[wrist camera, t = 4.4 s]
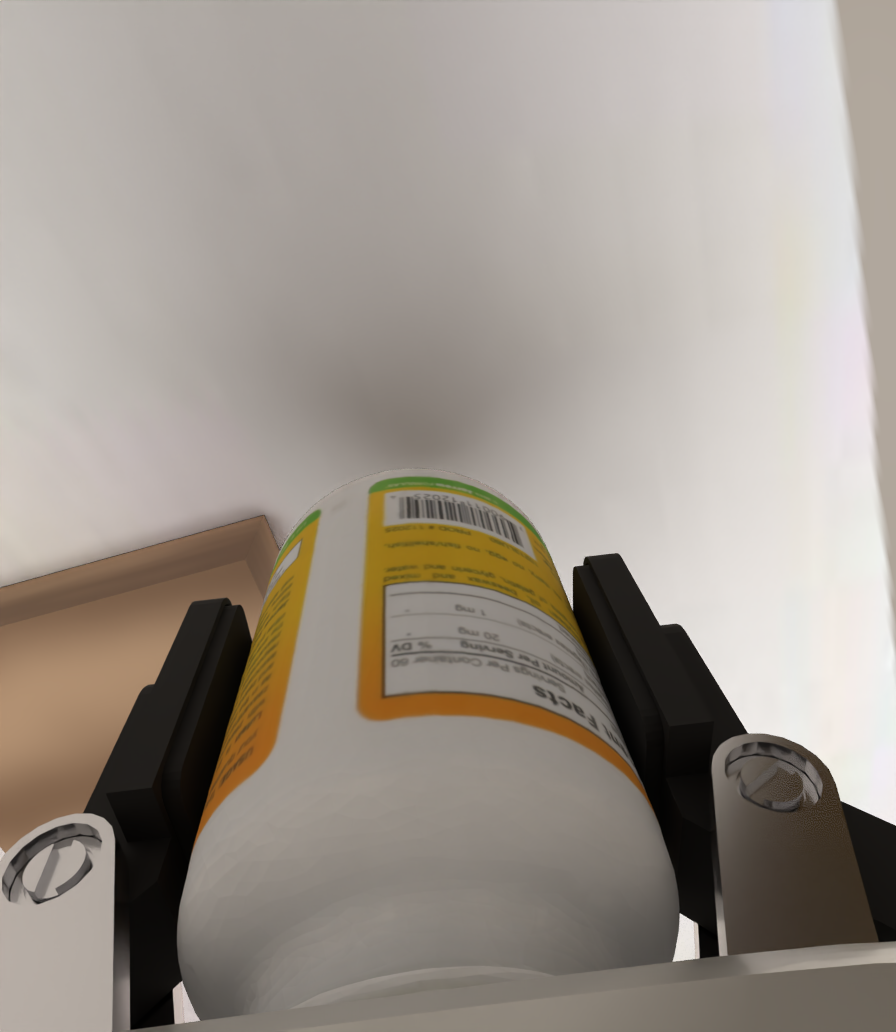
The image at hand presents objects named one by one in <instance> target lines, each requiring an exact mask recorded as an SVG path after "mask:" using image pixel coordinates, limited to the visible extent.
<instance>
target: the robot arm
mask: <svg viewBox="0 0 896 1032" xmlns="http://www.w3.org/2000/svg"><path fill="white" fill-rule="evenodd" d="M573 613H574V616H575V618H576V621H577V623H578V625H579V628H580V630H581V633H582V636H583V638H584V641H585V643H586V645H587V648H588V651H589V654H590V656H591V658H592V661H593V663H594V665H595V668H596V670H597V673H598V676H599V678H600V681H601V684H602V687H603V689H604V692H605V694H606V697H607V699H608V701H609V704H610V706H611V709H612V712H613V714H614V717H615V719H616V722H617V724H618V726H619V729H620V731H621V734H622V736H623V739H624V741H625V744H626V746H627V749H628V751H629V753H630V756H631V758H632V761H633V763H634V766H635V768H636V770H637V773H638V775H639V778H640V779H641V781H642V783H643V785H644V788H645V791H646V794H647V796H648V799H649V801H650V803H651V805H652V808H653V810H654V813H655V815H656V818H657V820H658V823H659V825H660V828H661V832H662V836H663V839H664V842H665V845H666V848H667V851H668V854H669V857H670V860H671V863H672V866H673V869H674V872H675V877H676V883H677V888H678V896H679V907H680V912H679V913H681V914H682V915H684V916H686V917H687V918H689V919H691V920H692V921H694V942H695V959H693V960H685V961H676V962H668V963H660V964H651V965H643V966H635V967H626V968H618V969H610V970H601V971H593V972H585V973H576V974H568V975H559V976H551V977H543V978H534V979H526V980H518V981H510V982H502V983H494V984H486V985H478V986H470V987H462V988H454V989H446V990H438V991H430V992H422V993H414V994H406V995H398V996H390V997H382V998H374V999H366V1000H358V1001H351V1002H343V1003H335V1004H327V1005H319V1006H311V1007H303V1008H295V1009H287V1010H280V1011H272V1012H265V1013H257V1014H249V1015H242V1016H234V1017H227V1018H219V1019H211V1020H204V1021H196V1022H189V1023H185V1021H184V1007H183V993H182V985H181V981H182V976H181V971H180V966H179V961H178V950H177V924H178V915H179V907H180V902H181V898H182V894H183V890H184V885H185V881H186V877H187V873H188V868H189V863H190V859H191V854H192V850H193V846H194V842H195V839H196V835H197V832H198V828H199V825H200V821H201V817H202V814H203V810H204V807H205V803H206V800H207V797H208V792H209V788H210V785H211V782H212V779H213V776H214V772H215V769H216V765H217V762H218V759H219V755H220V752H221V749H222V745H223V742H224V739H225V734H226V730H227V727H228V724H229V720H230V717H231V714H232V711H233V708H234V703H235V701H236V697H237V694H238V691H239V687H240V684H241V679H242V675H243V673H244V671H245V667H246V664H247V660H248V656H249V653H250V649H251V645H252V638H251V634H250V631H249V627H248V623H247V619H246V616H245V612H244V609H243V607H242V606H241V605H232V603H231V601H230V600H229V599H228V598H227V597H226V598H217V599H208V600H200V601H194V602H192V603H191V605H190V606H189V608H188V611H187V613H186V615H185V617H184V620H183V622H182V624H181V626H180V628H179V631H178V633H177V635H176V637H175V640H174V642H173V644H172V646H171V649H170V651H169V653H168V655H167V657H166V660H165V662H164V664H163V666H162V669H161V671H160V673H159V675H158V677H157V680H156V682H155V684H150V685H147V686H145V687H144V688H143V689H142V690H141V692H140V693H139V695H138V697H137V699H136V701H135V703H134V706H133V708H132V710H131V712H130V714H129V716H128V718H127V720H126V723H125V725H124V727H123V729H122V731H121V733H120V735H119V737H118V740H117V742H116V744H115V746H114V748H113V750H112V752H111V755H110V757H109V759H108V761H107V763H106V765H105V767H104V769H103V772H102V774H101V776H100V778H99V780H98V782H97V784H96V786H95V789H94V791H93V793H92V795H91V797H90V799H89V801H88V803H87V806H86V808H85V810H84V812H83V814H72V815H68V816H63V817H59V818H56V819H54V820H52V821H50V822H47V823H45V824H43V825H41V826H39V827H37V828H36V829H34V830H33V831H31V832H30V833H28V834H27V835H25V836H24V837H22V838H21V839H20V840H19V841H18V842H17V843H16V844H15V845H13V846H12V847H11V848H10V849H9V850H8V851H7V852H6V853H5V854H4V856H3V857H2V859H1V860H0V1032H896V826H895V825H893V824H891V823H888V822H886V821H884V820H882V819H880V818H877V817H875V816H873V815H871V814H868V813H866V812H864V811H862V810H860V809H857V808H855V807H853V806H851V805H848V804H846V803H844V802H842V801H840V798H839V794H838V790H837V787H836V783H835V781H834V779H833V777H832V775H831V773H830V771H829V769H828V768H827V767H826V765H825V764H824V763H823V762H822V761H821V760H820V759H819V758H818V757H817V756H816V755H815V754H813V753H812V752H810V751H809V750H807V749H806V748H804V747H803V746H801V745H799V744H797V743H795V742H792V741H790V740H788V739H785V738H783V737H778V736H773V735H769V734H748V733H747V731H746V730H745V728H744V726H743V725H742V723H741V721H740V720H739V718H738V716H737V715H736V713H735V712H734V710H733V708H732V707H731V705H730V703H729V702H728V700H727V699H726V697H725V695H724V694H723V692H722V690H721V689H720V687H719V685H718V684H717V682H716V681H715V679H714V677H713V676H712V674H711V672H710V671H709V669H708V667H707V666H706V664H705V663H704V661H703V659H702V658H701V656H700V654H699V653H698V651H697V650H696V648H695V646H694V645H693V643H692V641H691V640H690V638H689V636H688V635H687V633H686V632H685V630H684V629H683V628H682V627H681V626H680V625H678V624H670V625H661V626H660V625H659V623H658V621H657V619H656V618H655V616H654V614H653V612H652V611H651V609H650V607H649V605H648V603H647V602H646V600H645V598H644V596H643V595H642V593H641V591H640V589H639V588H638V586H637V584H636V582H635V580H634V579H633V577H632V575H631V573H630V572H629V570H628V568H627V566H626V565H625V563H624V561H623V559H622V558H621V556H620V555H619V554H618V553H615V554H606V555H597V556H588V557H585V559H584V563H583V566H575V567H574V568H573Z"/></svg>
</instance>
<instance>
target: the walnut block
mask: <svg viewBox="0 0 896 1032" xmlns="http://www.w3.org/2000/svg"><path fill="white" fill-rule="evenodd" d="M279 552H280V551H279V549H278V546H277V544H276V542H275V539H274V537H273V535H272V532H271V530H270V528H269V525H268V523H267V521H266V518H265V516H264V515H262V516H259V517H255V518H252V519H248V520H244V521H241V522H237V523H234V524H230V525H226V526H223V527H219V528H215V529H212V530H208V531H205V532H201V533H197V534H194V535H190V536H187V537H183V538H179V539H176V540H172V541H169V542H165V543H161V544H158V545H154V546H150V547H147V548H143V549H140V550H136V551H132V552H129V553H125V554H122V555H118V556H114V557H111V558H107V559H103V560H100V561H96V562H93V563H89V564H85V565H82V566H78V567H75V568H71V569H67V570H64V571H60V572H57V573H53V574H49V575H46V576H42V577H38V578H35V579H31V580H28V581H24V582H20V583H17V584H13V585H10V586H6V587H2V588H0V847H1V848H2V850H3V851H4V852H5V853H6V852H7V851H8V850H9V849H10V848H11V847H12V846H13V845H15V844H16V843H17V842H18V841H19V840H20V839H21V838H22V837H24V836H25V835H27V834H28V833H30V832H31V831H33V830H34V829H36V828H37V827H39V826H41V825H43V824H45V823H47V822H50V821H52V820H54V819H56V818H59V817H63V816H68V815H72V814H83V812H84V810H85V808H86V806H87V803H88V801H89V799H90V797H91V795H92V793H93V791H94V789H95V786H96V784H97V782H98V780H99V778H100V776H101V774H102V772H103V769H104V767H105V765H106V763H107V761H108V759H109V757H110V755H111V752H112V750H113V748H114V746H115V744H116V742H117V740H118V737H119V735H120V733H121V731H122V729H123V727H124V725H125V723H126V720H127V718H128V716H129V714H130V712H131V710H132V708H133V706H134V703H135V701H136V699H137V697H138V695H139V693H140V692H141V690H142V689H143V688H144V687H145V686H147V685H150V684H155V682H156V680H157V677H158V675H159V673H160V671H161V669H162V666H163V664H164V662H165V660H166V657H167V655H168V653H169V651H170V649H171V646H172V644H173V642H174V640H175V637H176V635H177V633H178V631H179V628H180V626H181V624H182V622H183V620H184V617H185V615H186V613H187V611H188V608H189V606H190V605H191V603H192V602H194V601H200V600H208V599H217V598H226V597H227V598H228V599H229V600H230V601H231V603H232V605H241V606H242V607H243V609H244V612H245V616H246V619H247V623H248V627H249V631H250V634H251V638H252V642H253V638H254V635H255V631H256V628H257V625H258V621H259V617H260V613H261V609H262V605H263V602H264V598H265V595H266V591H267V588H268V584H269V580H270V577H271V574H272V571H273V568H274V565H275V562H276V559H277V557H278V554H279Z"/></svg>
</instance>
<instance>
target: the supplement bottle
mask: <svg viewBox="0 0 896 1032" xmlns="http://www.w3.org/2000/svg"><path fill="white" fill-rule="evenodd" d="M679 912H680V907H679V896H678V888H677V883H676V877H675V872H674V869H673V866H672V863H671V860H670V857H669V854H668V851H667V848H666V845H665V842H664V839H663V836H662V832H661V828H660V825H659V823H658V820H657V818H656V815H655V813H654V810H653V808H652V805H651V803H650V801H649V799H648V796H647V794H646V791H645V788H644V785H643V783H642V781H641V779H640V778H639V775H638V773H637V770H636V768H635V766H634V763H633V761H632V758H631V756H630V753H629V751H628V749H627V746H626V744H625V741H624V739H623V736H622V734H621V731H620V729H619V726H618V724H617V722H616V719H615V717H614V714H613V712H612V709H611V706H610V704H609V701H608V699H607V697H606V694H605V692H604V689H603V687H602V684H601V681H600V678H599V676H598V673H597V670H596V668H595V665H594V663H593V661H592V658H591V656H590V654H589V651H588V648H587V645H586V643H585V641H584V638H583V636H582V633H581V630H580V628H579V625H578V623H577V621H576V618H575V616H574V613H573V610H572V608H571V606H570V603H569V601H568V598H567V595H566V593H565V590H564V588H563V586H562V583H561V581H560V578H559V576H558V573H557V571H556V568H555V566H554V563H553V561H552V558H551V556H550V554H549V552H548V550H547V547H546V545H545V543H544V541H543V539H542V537H541V535H540V534H539V532H538V531H537V529H536V528H535V526H534V525H533V523H532V522H531V521H530V520H529V518H528V517H527V516H526V515H525V514H524V513H523V512H522V511H521V510H520V509H519V508H518V507H517V506H516V505H515V504H514V503H512V502H511V501H510V500H509V499H507V498H506V497H505V496H503V495H502V494H500V493H499V492H497V491H495V490H494V489H492V488H490V487H488V486H486V485H485V484H483V483H481V482H479V481H476V480H474V479H471V478H469V477H465V476H462V475H459V474H456V473H451V472H447V471H441V470H433V469H418V468H414V469H397V470H389V471H383V472H379V473H376V474H372V475H368V476H365V477H362V478H360V479H357V480H354V481H352V482H350V483H348V484H346V485H343V486H341V487H340V488H338V489H336V490H335V491H333V492H331V493H330V494H328V495H327V496H325V497H324V498H323V499H321V500H320V501H319V502H318V503H316V504H315V505H314V506H313V507H312V508H311V509H310V510H309V511H308V512H307V513H306V514H305V515H304V516H303V517H302V518H301V519H300V520H299V522H298V523H297V524H296V525H295V526H294V528H293V529H292V531H291V532H290V534H289V535H288V537H287V538H286V540H285V542H284V544H283V546H282V548H281V550H280V552H279V554H278V557H277V559H276V562H275V565H274V568H273V571H272V574H271V577H270V580H269V584H268V588H267V591H266V595H265V598H264V602H263V605H262V609H261V613H260V617H259V621H258V625H257V628H256V631H255V635H254V638H253V642H252V645H251V649H250V653H249V656H248V660H247V664H246V667H245V671H244V673H243V675H242V679H241V684H240V687H239V691H238V694H237V697H236V701H235V703H234V708H233V711H232V714H231V717H230V720H229V724H228V727H227V730H226V734H225V739H224V742H223V745H222V749H221V752H220V755H219V759H218V762H217V765H216V769H215V772H214V776H213V779H212V782H211V785H210V788H209V792H208V797H207V800H206V803H205V807H204V810H203V814H202V817H201V821H200V825H199V828H198V832H197V835H196V839H195V842H194V846H193V850H192V854H191V859H190V863H189V868H188V873H187V877H186V881H185V885H184V890H183V894H182V898H181V902H180V907H179V915H178V924H177V950H178V961H179V966H180V971H181V976H182V980H183V984H184V987H185V989H186V992H187V994H188V997H189V999H190V1001H191V1004H192V1006H193V1008H194V1011H195V1013H196V1014H197V1016H198V1017H199V1019H200V1021H204V1020H211V1019H219V1018H227V1017H234V1016H242V1015H249V1014H257V1013H265V1012H272V1011H280V1010H287V1009H295V1008H303V1007H311V1006H319V1005H327V1004H335V1003H343V1002H351V1001H358V1000H366V999H374V998H382V997H390V996H398V995H406V994H414V993H422V992H430V991H438V990H446V989H454V988H462V987H470V986H478V985H486V984H494V983H502V982H510V981H518V980H526V979H534V978H543V977H551V976H559V975H568V974H576V973H585V972H593V971H601V970H610V969H618V968H626V967H635V966H643V965H651V964H660V963H668V962H672V961H673V957H674V954H675V948H676V942H677V937H678V931H679Z"/></svg>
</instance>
